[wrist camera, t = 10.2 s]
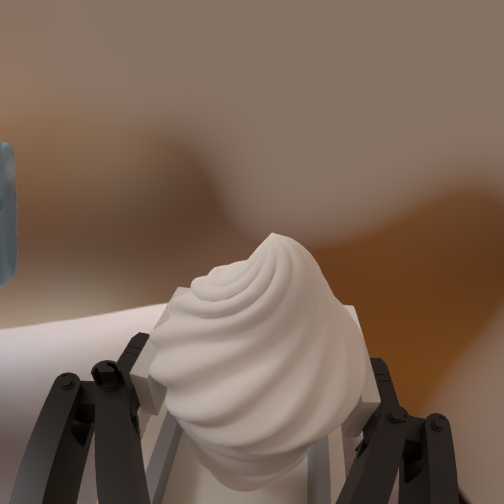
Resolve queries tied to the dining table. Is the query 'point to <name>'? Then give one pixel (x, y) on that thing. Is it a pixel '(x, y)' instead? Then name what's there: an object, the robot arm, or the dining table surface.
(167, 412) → the grey shallow tray
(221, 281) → the soft serve ice cream cone
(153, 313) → the dining table surface
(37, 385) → the dining table surface
